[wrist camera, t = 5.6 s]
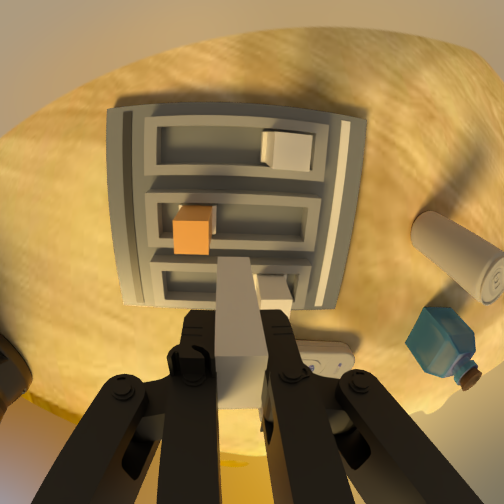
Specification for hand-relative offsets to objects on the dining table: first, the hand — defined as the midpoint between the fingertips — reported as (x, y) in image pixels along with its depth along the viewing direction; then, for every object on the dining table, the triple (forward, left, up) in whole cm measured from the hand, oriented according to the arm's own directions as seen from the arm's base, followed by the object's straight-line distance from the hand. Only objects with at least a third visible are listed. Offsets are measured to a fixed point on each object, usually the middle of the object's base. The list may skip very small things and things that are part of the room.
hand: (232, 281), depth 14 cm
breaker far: (+4, -6, -11) cm, 13 cm away
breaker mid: (-3, 0, -11) cm, 11 cm away
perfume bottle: (+28, -14, -12) cm, 34 cm away
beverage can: (+21, 0, -12) cm, 24 cm away
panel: (0, 0, -12) cm, 12 cm away
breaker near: (+4, +6, -11) cm, 13 cm away
